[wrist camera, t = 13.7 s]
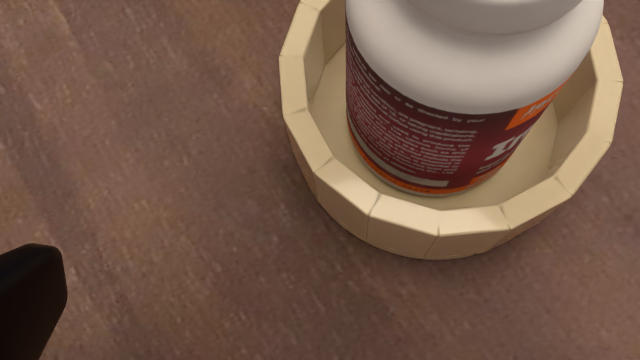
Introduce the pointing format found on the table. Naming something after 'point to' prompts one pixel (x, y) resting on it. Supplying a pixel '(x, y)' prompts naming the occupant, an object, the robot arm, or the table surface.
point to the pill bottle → (455, 83)
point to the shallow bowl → (447, 211)
